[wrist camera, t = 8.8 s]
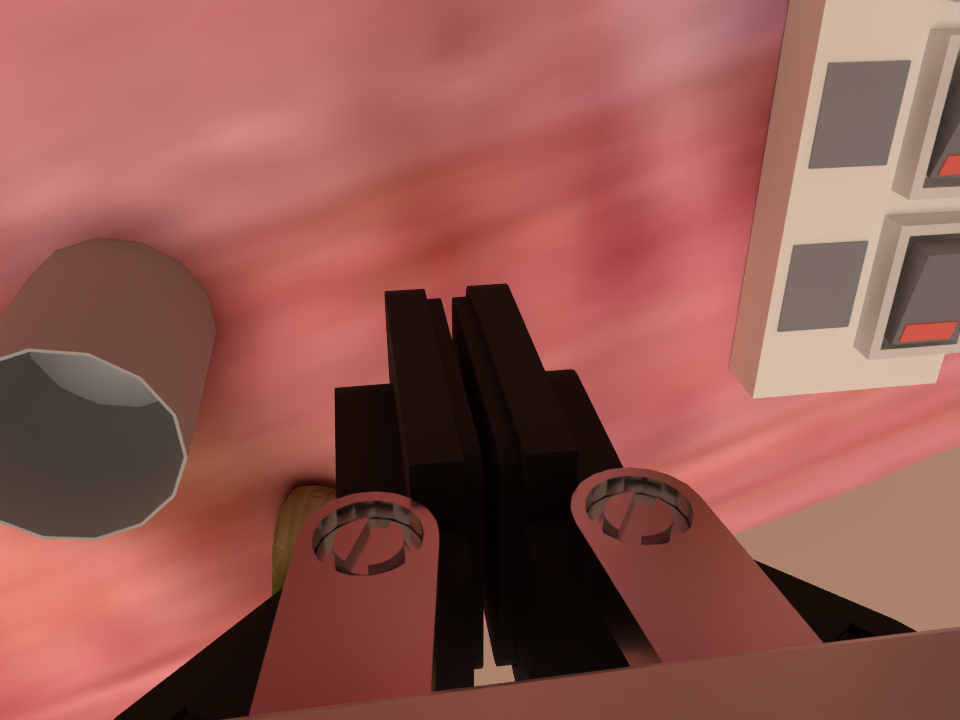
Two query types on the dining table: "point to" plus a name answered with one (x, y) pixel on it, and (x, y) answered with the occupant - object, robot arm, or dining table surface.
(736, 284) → the dining table surface
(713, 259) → the dining table surface
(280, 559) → the fennel bulb
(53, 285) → the cup
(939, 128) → the rocker middle
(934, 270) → the rocker
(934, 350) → the power strip
